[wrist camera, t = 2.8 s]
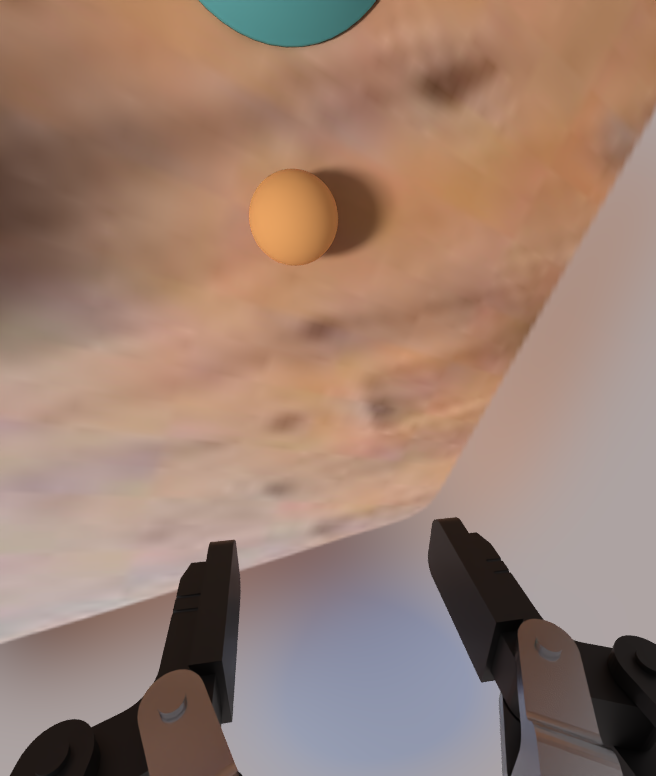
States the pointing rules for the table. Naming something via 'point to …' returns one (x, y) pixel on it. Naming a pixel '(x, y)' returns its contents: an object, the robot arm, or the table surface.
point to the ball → (293, 217)
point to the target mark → (289, 19)
